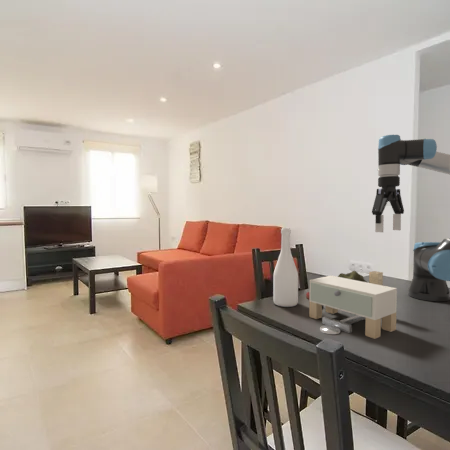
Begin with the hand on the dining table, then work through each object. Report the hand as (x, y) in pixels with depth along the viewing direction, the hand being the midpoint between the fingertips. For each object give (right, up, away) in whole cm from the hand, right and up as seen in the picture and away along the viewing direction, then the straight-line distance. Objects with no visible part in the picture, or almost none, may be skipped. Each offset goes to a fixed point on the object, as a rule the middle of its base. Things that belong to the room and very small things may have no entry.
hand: (388, 231), depth 130 cm
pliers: (-27, -29, +4) cm, 40 cm away
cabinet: (-22, -30, -20) cm, 42 cm away
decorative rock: (-7, -28, +16) cm, 33 cm away
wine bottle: (-40, -29, +2) cm, 49 cm away
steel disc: (-31, -31, -27) cm, 51 cm away
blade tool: (-18, -30, -17) cm, 39 cm away
